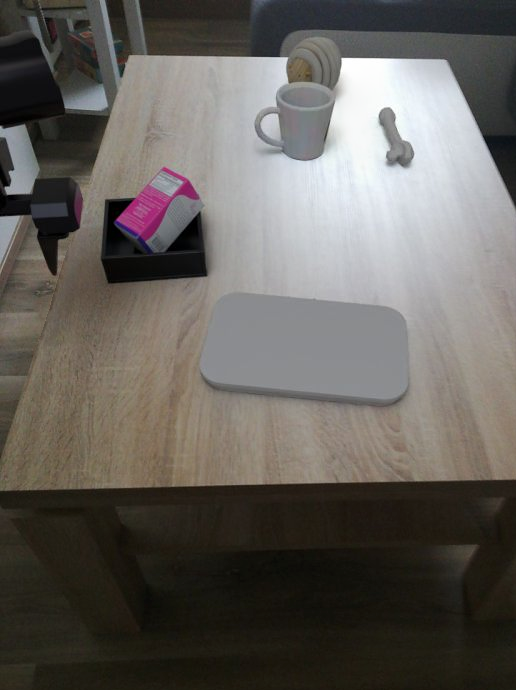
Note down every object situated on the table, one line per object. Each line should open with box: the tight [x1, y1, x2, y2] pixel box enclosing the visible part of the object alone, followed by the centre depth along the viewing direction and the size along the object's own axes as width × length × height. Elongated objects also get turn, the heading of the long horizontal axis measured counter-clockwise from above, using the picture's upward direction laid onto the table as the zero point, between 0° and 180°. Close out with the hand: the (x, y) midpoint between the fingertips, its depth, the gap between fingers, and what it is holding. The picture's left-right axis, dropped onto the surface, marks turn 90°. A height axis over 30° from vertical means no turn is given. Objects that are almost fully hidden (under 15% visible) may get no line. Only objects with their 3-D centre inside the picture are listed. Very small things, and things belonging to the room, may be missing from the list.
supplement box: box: [114, 166, 205, 253], centre depth 82 cm, size 6×6×12 cm
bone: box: [378, 106, 415, 166], centre depth 106 cm, size 18×5×4 cm, turn 0°
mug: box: [253, 82, 336, 161], centre depth 100 cm, size 10×15×10 cm
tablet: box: [198, 291, 409, 407], centre depth 73 cm, size 16×26×2 cm, turn 85°
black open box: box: [100, 193, 208, 285], centre depth 84 cm, size 14×14×4 cm
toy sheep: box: [285, 36, 343, 92], centre depth 113 cm, size 11×17×11 cm, turn 150°
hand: (11, 276), depth 62 cm, fingers open, 9 cm apart
